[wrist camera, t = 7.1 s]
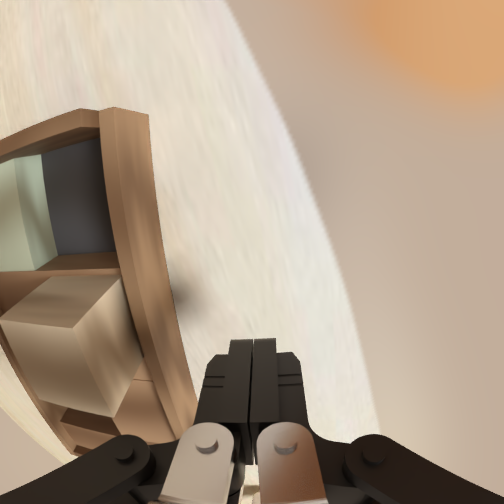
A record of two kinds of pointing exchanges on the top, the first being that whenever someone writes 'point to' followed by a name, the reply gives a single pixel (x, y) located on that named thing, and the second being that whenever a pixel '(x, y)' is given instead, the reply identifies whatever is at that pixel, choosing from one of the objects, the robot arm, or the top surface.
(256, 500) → the lightbulb
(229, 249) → the top surface
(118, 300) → the beech block
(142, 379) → the board
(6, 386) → the top surface
